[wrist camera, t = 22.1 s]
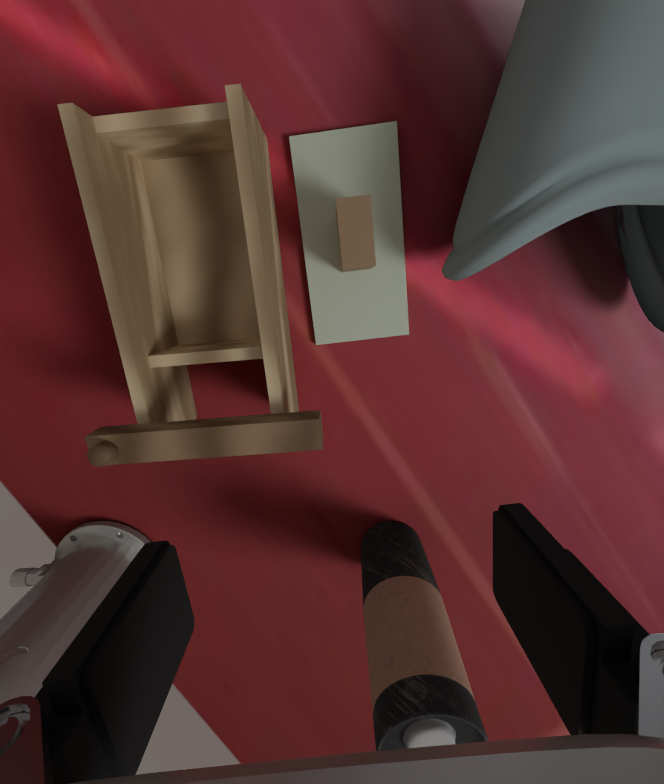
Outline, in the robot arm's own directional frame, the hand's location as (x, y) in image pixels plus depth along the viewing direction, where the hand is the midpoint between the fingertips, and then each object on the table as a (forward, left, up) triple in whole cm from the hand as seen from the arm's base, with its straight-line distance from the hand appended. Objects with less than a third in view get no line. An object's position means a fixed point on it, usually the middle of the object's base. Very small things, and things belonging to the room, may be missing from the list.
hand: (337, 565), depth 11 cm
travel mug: (+4, -22, -28) cm, 36 cm away
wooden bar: (-11, -3, -19) cm, 22 cm away
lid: (+2, +12, -28) cm, 31 cm away
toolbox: (-11, +8, -28) cm, 31 cm away
